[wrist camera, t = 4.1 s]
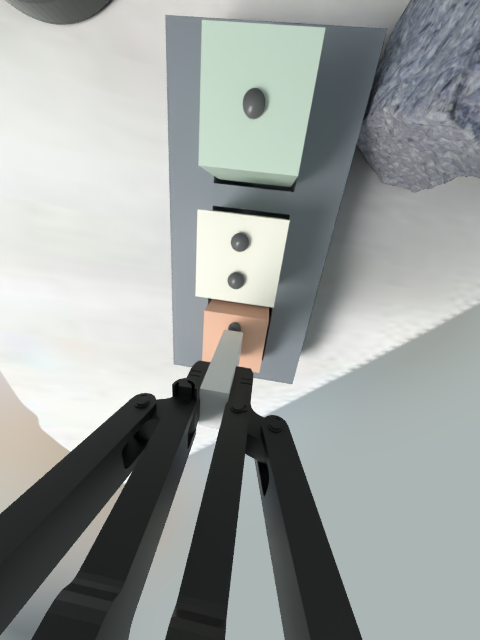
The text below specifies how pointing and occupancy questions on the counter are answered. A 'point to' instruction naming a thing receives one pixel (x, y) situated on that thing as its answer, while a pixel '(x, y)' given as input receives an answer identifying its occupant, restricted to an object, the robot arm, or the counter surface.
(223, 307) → the tile three
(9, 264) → the counter surface
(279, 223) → the tile two
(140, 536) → the robot arm
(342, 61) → the key board
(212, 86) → the tile one
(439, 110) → the stone
